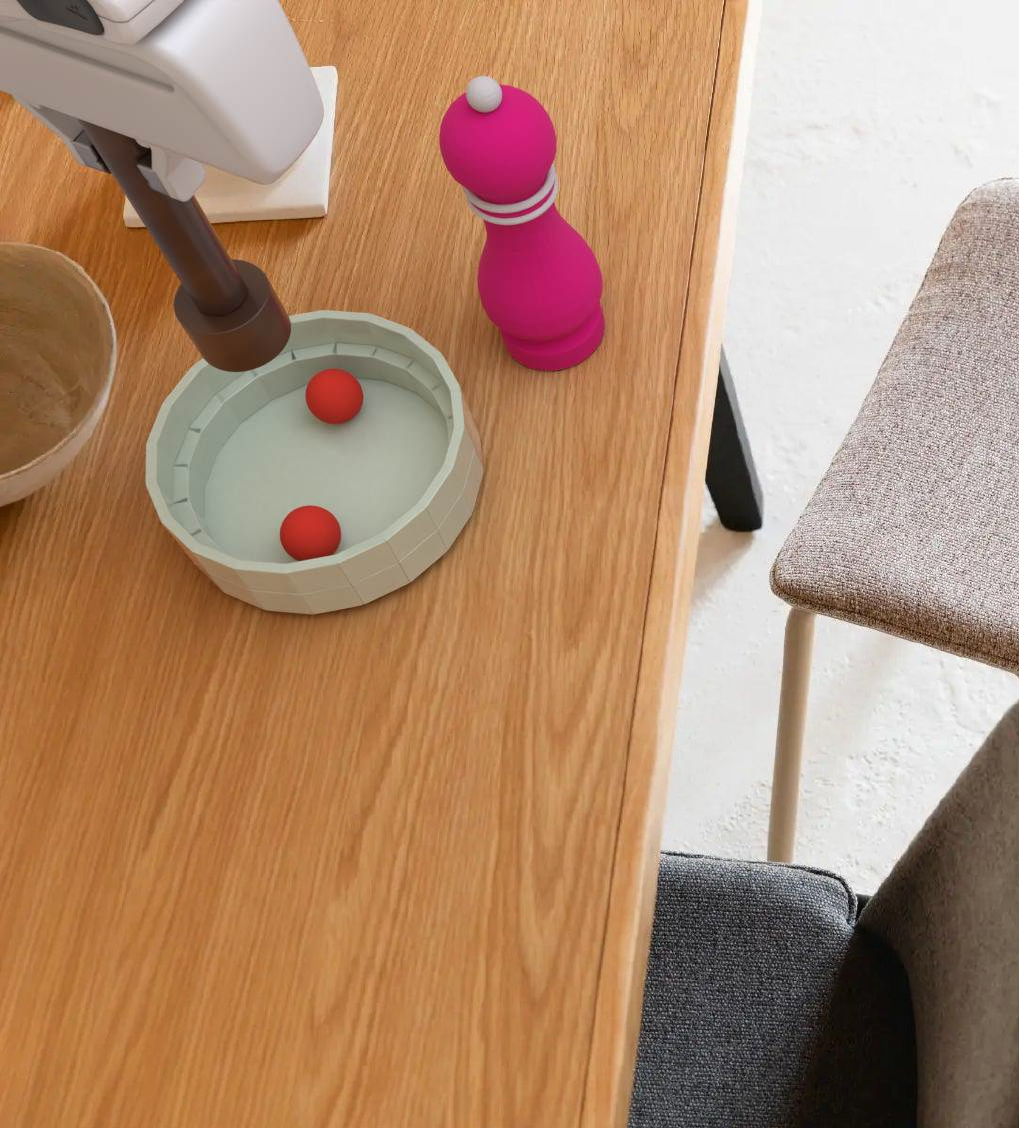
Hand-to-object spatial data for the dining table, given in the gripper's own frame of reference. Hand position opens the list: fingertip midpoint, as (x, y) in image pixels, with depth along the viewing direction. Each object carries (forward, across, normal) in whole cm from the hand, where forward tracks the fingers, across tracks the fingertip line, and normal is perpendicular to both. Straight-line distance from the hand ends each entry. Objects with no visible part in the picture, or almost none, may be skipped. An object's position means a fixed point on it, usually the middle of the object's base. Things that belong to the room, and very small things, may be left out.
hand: (145, 172), depth 62 cm
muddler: (+11, 0, 0) cm, 11 cm away
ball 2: (+25, 0, -3) cm, 25 cm away
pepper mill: (+28, +4, +16) cm, 32 cm away
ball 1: (+25, -4, +5) cm, 26 cm away
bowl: (+28, -2, +1) cm, 28 cm away
